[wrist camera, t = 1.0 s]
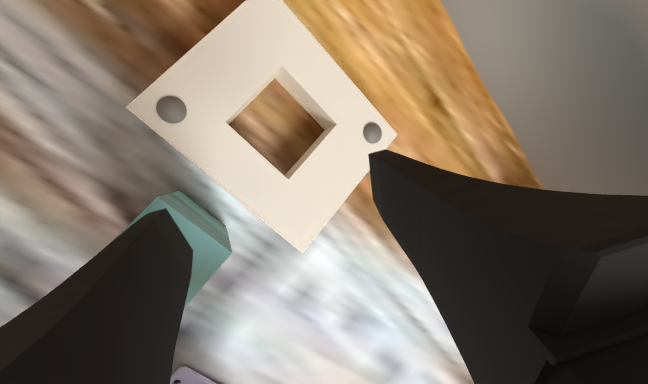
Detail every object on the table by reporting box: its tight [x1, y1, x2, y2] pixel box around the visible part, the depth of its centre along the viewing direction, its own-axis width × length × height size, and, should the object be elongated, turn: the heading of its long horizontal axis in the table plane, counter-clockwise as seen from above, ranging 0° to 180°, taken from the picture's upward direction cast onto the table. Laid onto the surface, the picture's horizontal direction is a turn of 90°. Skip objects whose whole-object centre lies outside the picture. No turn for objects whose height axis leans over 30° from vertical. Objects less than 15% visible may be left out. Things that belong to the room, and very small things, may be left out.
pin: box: [114, 191, 232, 307], centre depth 16 cm, size 4×4×8 cm
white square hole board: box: [126, 0, 397, 253], centre depth 20 cm, size 12×14×3 cm
